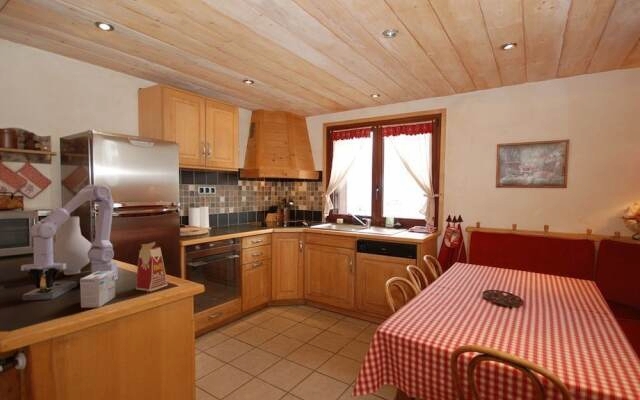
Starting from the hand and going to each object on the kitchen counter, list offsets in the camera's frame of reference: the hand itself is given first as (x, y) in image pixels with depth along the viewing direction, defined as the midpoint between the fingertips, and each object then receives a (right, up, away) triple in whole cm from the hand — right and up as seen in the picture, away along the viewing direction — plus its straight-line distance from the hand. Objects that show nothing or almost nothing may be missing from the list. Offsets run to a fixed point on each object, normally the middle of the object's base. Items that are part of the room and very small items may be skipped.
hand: (44, 287), depth 125 cm
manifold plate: (-1, -3, +4) cm, 5 cm away
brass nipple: (0, -2, 0) cm, 2 cm away
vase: (-15, -2, +33) cm, 36 cm away
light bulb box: (+25, -4, -6) cm, 26 cm away
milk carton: (+35, -3, +12) cm, 38 cm away
